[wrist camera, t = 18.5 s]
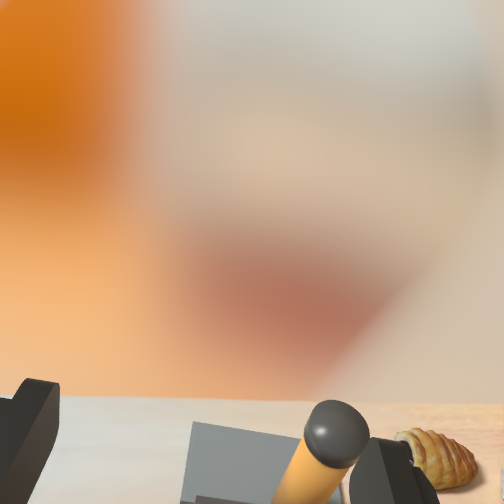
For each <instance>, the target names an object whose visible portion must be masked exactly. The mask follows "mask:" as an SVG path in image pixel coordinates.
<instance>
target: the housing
mask: <svg viewBox="0 0 504 504" xmlns="http://www.w3.org/2000/svg"><path fill="white" fill-rule="evenodd" d="M194 504H252V503H246V502H239V501H232V500H225V499H219V498H212V497H205V496H199V495H196V498H195V501H194Z"/></svg>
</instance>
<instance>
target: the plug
mask: <svg viewBox="0 0 504 504" xmlns="http://www.w3.org/2000/svg"><path fill="white" fill-rule="evenodd" d="M369 439H370V432H369V428H368V425H367V423H366V421H365V419H364V418H363V417H362V415H361V414H360V413H359V412H358V411H357V410H356V409H354V408H353V407H352V406H350V405H348V404H346V403H344V402H341V401H337V400H326V401H323V402H320V403H319V404H317V405H316V406H315V408H314V409H313V411H312V413H311V415H310V417H309V419H308V421H307V423H306V426H305V429H304V435H303V437H302V439H301V441H300V443H299V445H298V447H297V449H296V451H295V453H294V455H293V457H292V459H291V461H290V463H289V465H288V468H287V470H286V472H285V474H284V476H283V478H282V480H281V482H280V484H279V486H278V488H277V490H276V492H275V494H274V496H273V498H272V501H271V504H327V503H328V501H329V499H330V498H331V496H332V495H333V493H334V492H335V490H336V488H337V487H338V485H339V484H340V482H341V481H342V479H343V478H344V476H345V474H346V473H347V471H348V470H349V468H350V467H351V466H353V465H354V464H355V463H356V462H357V461H358V459H359V457H360V455H361V454H362V452H363V450H364V448H365V446H366V444H367V442H368V441H369Z"/></svg>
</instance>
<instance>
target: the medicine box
mask: <svg viewBox="0 0 504 504" xmlns="http://www.w3.org/2000/svg"><path fill="white" fill-rule="evenodd" d="M501 474H502V499H503V500H504V468H503V469H502V471H501Z"/></svg>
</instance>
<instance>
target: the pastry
mask: <svg viewBox="0 0 504 504" xmlns="http://www.w3.org/2000/svg"><path fill="white" fill-rule="evenodd" d="M394 440H395V441H399V442H401V443H402V444H403V445H404V447H405V450H406V453H407V456H408V459H409V462H410V465H411V466H416V467H420V468H421V470H422V471H423V473H424V474H425V475H426V477H427V478H428V480H429V481H430V482H431V484H432V485H433V487H434V489H436V490H440V489H449V488H453V487H457V486H461V485H464V484H467V483H469V482H470V481H471V480H472V479H474V478H475V476H476V474H477V469H478V468H477V465H476V462H475V460H474V455H473V453H471V452H470V451H469V450H468V449H467V448H466V447H464V446H463V445H460V444H459V443H457V442H455V440H454V439H448V438H446V437H445V435H443V434H436V433H435V432H434V431H432V430H428V431H426V432H424V431H423V430H421V429H420V428H413V429H411V430H409V431H403V432H401V433H399V432H398V433H397V434H396V435H395V437H394Z"/></svg>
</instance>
